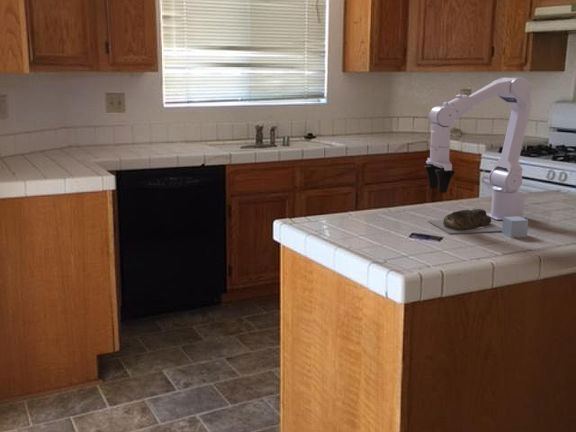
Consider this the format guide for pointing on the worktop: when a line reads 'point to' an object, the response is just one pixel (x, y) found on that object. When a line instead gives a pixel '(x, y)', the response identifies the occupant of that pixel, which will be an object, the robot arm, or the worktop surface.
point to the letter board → (483, 229)
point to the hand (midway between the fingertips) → (437, 190)
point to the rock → (467, 219)
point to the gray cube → (515, 227)
